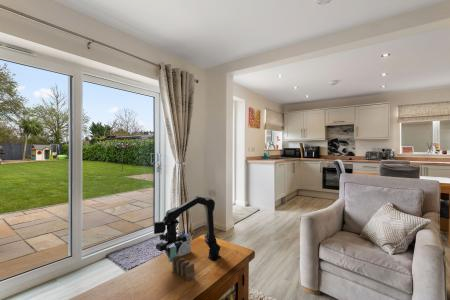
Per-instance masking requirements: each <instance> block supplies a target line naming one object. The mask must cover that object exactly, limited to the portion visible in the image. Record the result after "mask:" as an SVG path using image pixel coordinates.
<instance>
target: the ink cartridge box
mask: <svg viewBox="0 0 450 300" xmlns="http://www.w3.org/2000/svg"><path fill="white" fill-rule="evenodd" d="M178 235H184V236H186V237H187V241H186V242H182V240H181V242H182V243H183V244H182V245H181V247H180V248H179V251H178V253H177V256H178V255H179V256H180V257H183V256H185V255H187V254H191V253H192V246H191V234H189V233H187V232H186V233H185V232H184V231H181V232H179V233H178Z"/></svg>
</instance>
